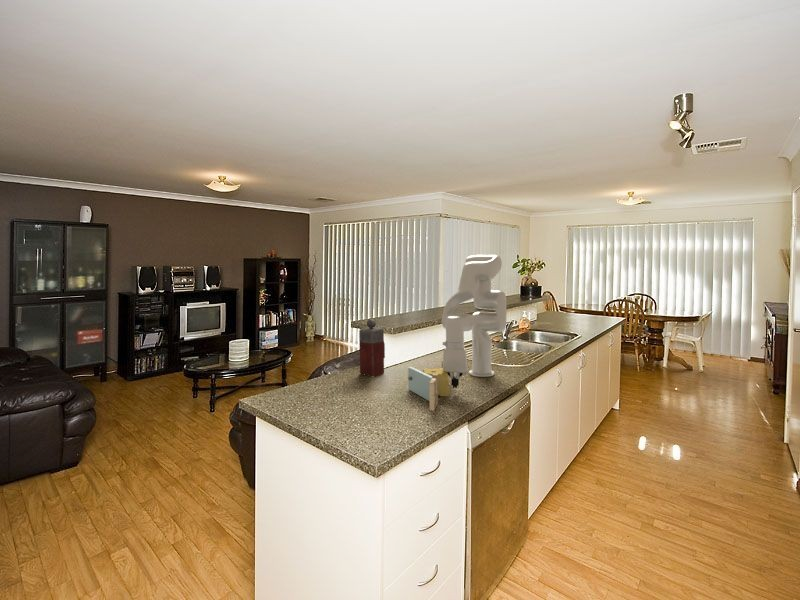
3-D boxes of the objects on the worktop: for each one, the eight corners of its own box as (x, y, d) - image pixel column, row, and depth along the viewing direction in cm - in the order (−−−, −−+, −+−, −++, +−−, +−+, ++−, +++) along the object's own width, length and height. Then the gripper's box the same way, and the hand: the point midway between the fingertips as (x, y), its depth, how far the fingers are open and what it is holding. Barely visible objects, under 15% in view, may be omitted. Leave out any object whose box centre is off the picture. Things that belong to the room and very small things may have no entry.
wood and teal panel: (444, 382, 203) (444, 357, 202) (448, 382, 202) (448, 357, 201) (429, 410, 164) (428, 379, 163) (434, 410, 164) (434, 380, 163)
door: (436, 401, 174) (436, 376, 173) (428, 402, 173) (428, 378, 172) (413, 388, 192) (413, 366, 191) (406, 389, 190) (405, 367, 190)
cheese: (449, 396, 181) (449, 373, 180) (424, 397, 180) (423, 374, 179) (446, 389, 191) (446, 367, 190) (422, 390, 191) (421, 367, 190)
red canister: (387, 372, 222) (386, 318, 220) (373, 377, 213) (372, 321, 211) (374, 369, 228) (373, 317, 225) (359, 374, 219) (358, 319, 216)
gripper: (436, 346, 181) (436, 388, 182) (472, 347, 177) (472, 390, 179) (438, 342, 188) (439, 383, 190) (473, 343, 184) (473, 385, 186)
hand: (455, 387), depth 184 cm, fingers closed
